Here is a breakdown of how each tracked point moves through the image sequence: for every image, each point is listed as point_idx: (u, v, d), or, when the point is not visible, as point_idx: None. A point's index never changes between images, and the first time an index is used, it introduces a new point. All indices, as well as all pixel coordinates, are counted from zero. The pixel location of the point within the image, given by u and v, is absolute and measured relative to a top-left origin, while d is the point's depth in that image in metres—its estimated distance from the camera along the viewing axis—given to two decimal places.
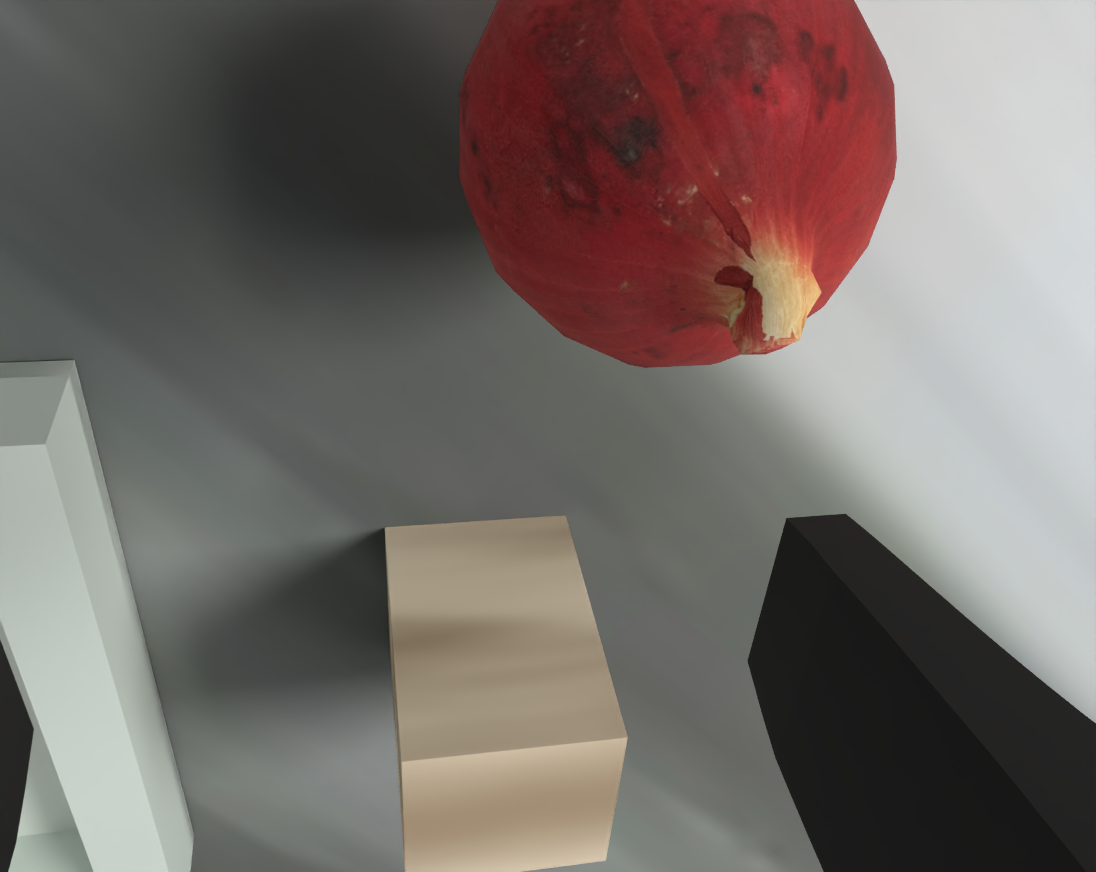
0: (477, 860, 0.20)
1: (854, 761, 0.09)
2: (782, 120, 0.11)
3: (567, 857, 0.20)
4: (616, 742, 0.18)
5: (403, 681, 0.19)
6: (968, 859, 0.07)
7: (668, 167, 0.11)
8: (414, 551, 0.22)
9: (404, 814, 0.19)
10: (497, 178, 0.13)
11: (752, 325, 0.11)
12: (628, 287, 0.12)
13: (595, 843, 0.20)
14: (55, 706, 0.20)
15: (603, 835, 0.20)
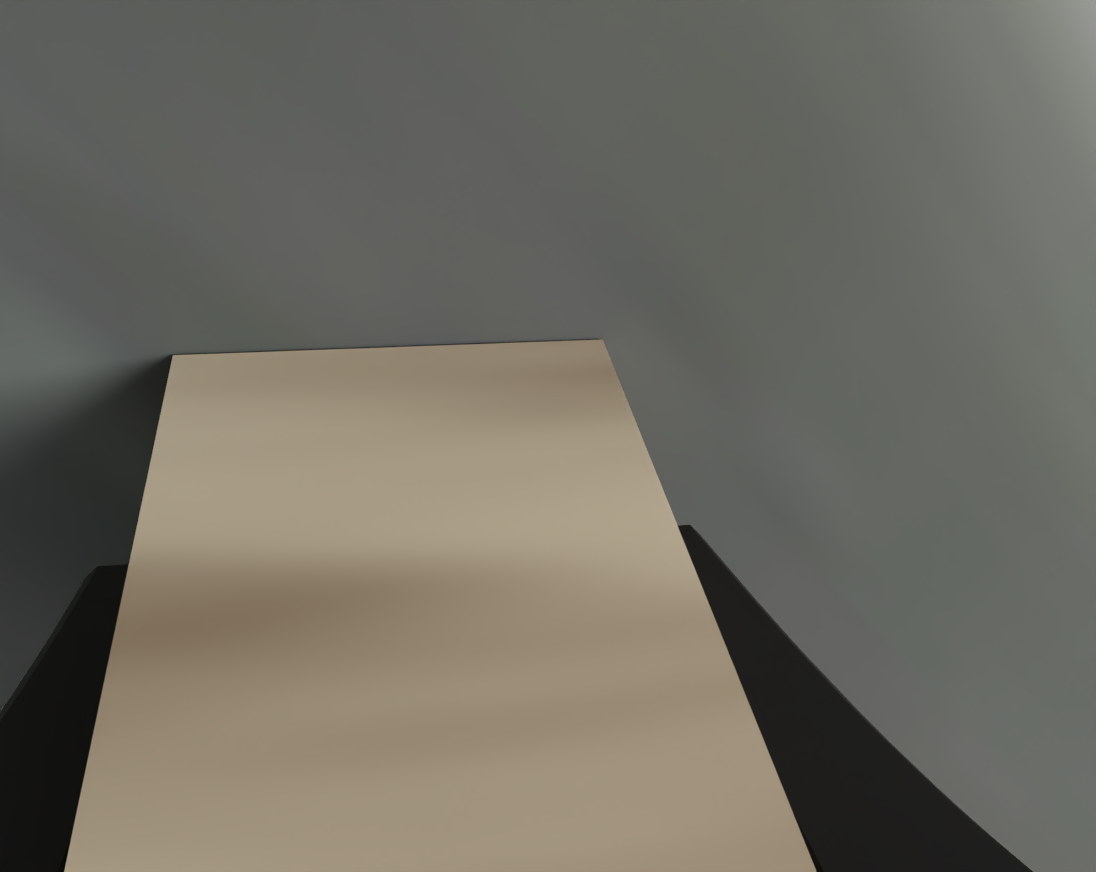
0: None
1: None
2: None
3: None
4: None
5: (115, 747, 0.06)
6: None
7: None
8: (233, 405, 0.09)
9: None
10: None
11: None
12: None
13: None
14: None
15: None
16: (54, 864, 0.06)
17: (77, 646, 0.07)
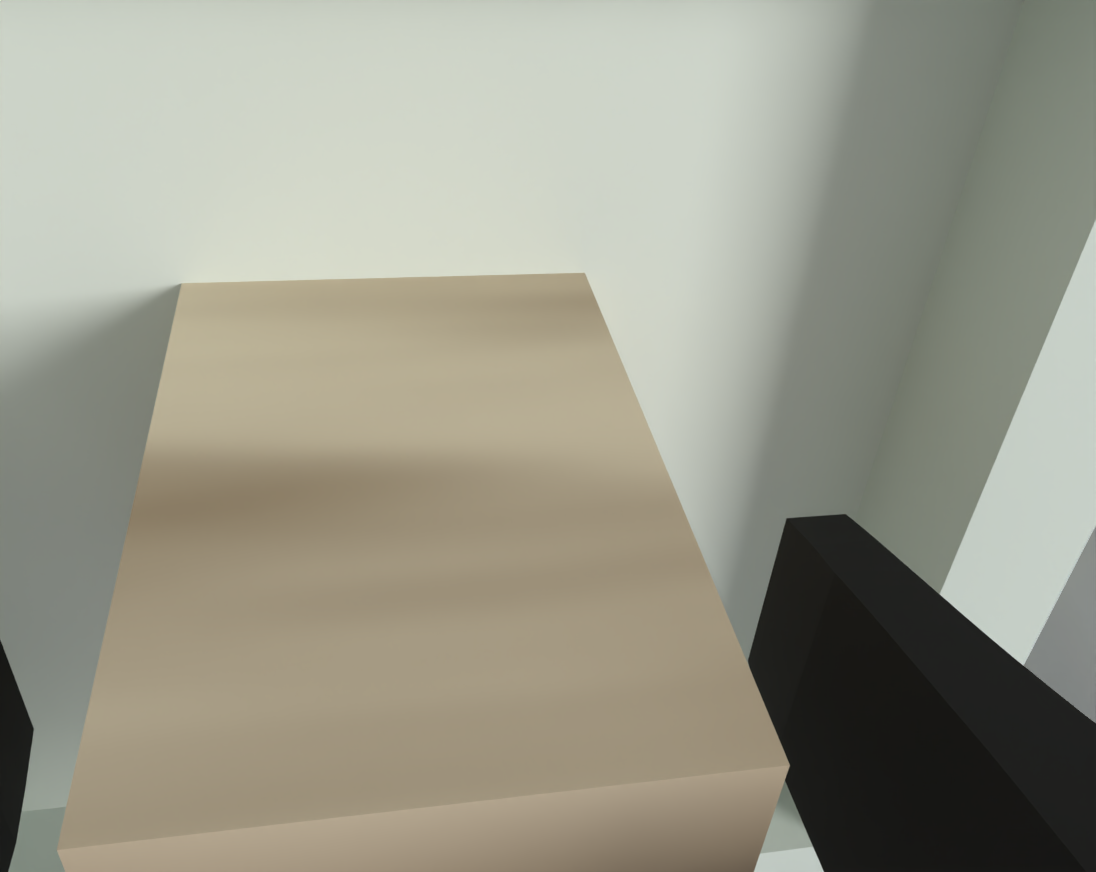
0: None
1: (855, 760, 0.09)
2: None
3: None
4: (753, 779, 0.06)
5: (134, 602, 0.07)
6: (968, 859, 0.07)
7: None
8: (238, 325, 0.09)
9: None
10: None
11: None
12: None
13: None
14: (1036, 446, 0.11)
15: None
16: None
17: None
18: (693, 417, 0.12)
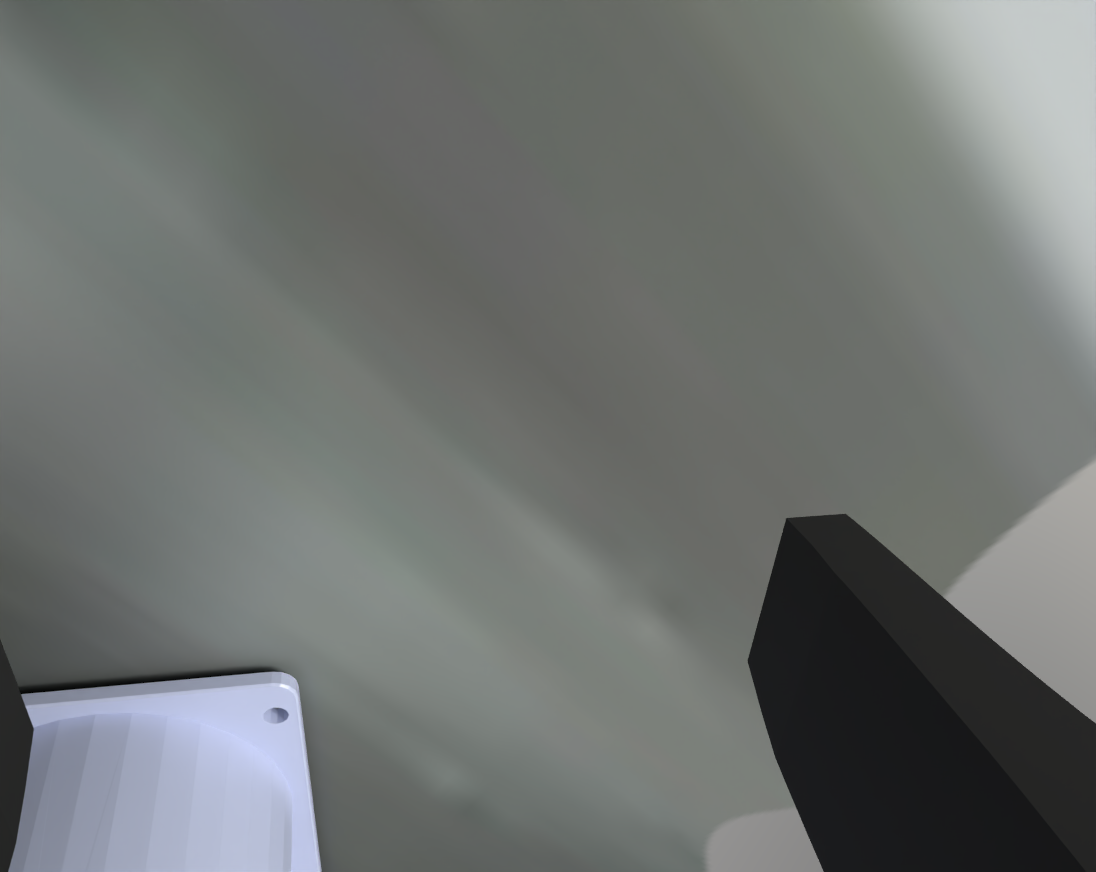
0: None
1: (855, 761, 0.09)
2: None
3: None
4: None
5: None
6: (968, 858, 0.07)
7: None
8: None
9: None
10: None
11: None
12: None
13: None
14: None
15: None
16: None
17: None
18: None
